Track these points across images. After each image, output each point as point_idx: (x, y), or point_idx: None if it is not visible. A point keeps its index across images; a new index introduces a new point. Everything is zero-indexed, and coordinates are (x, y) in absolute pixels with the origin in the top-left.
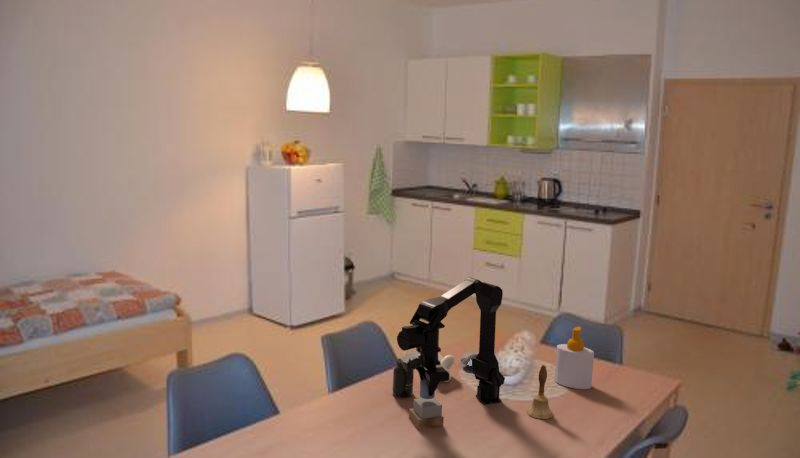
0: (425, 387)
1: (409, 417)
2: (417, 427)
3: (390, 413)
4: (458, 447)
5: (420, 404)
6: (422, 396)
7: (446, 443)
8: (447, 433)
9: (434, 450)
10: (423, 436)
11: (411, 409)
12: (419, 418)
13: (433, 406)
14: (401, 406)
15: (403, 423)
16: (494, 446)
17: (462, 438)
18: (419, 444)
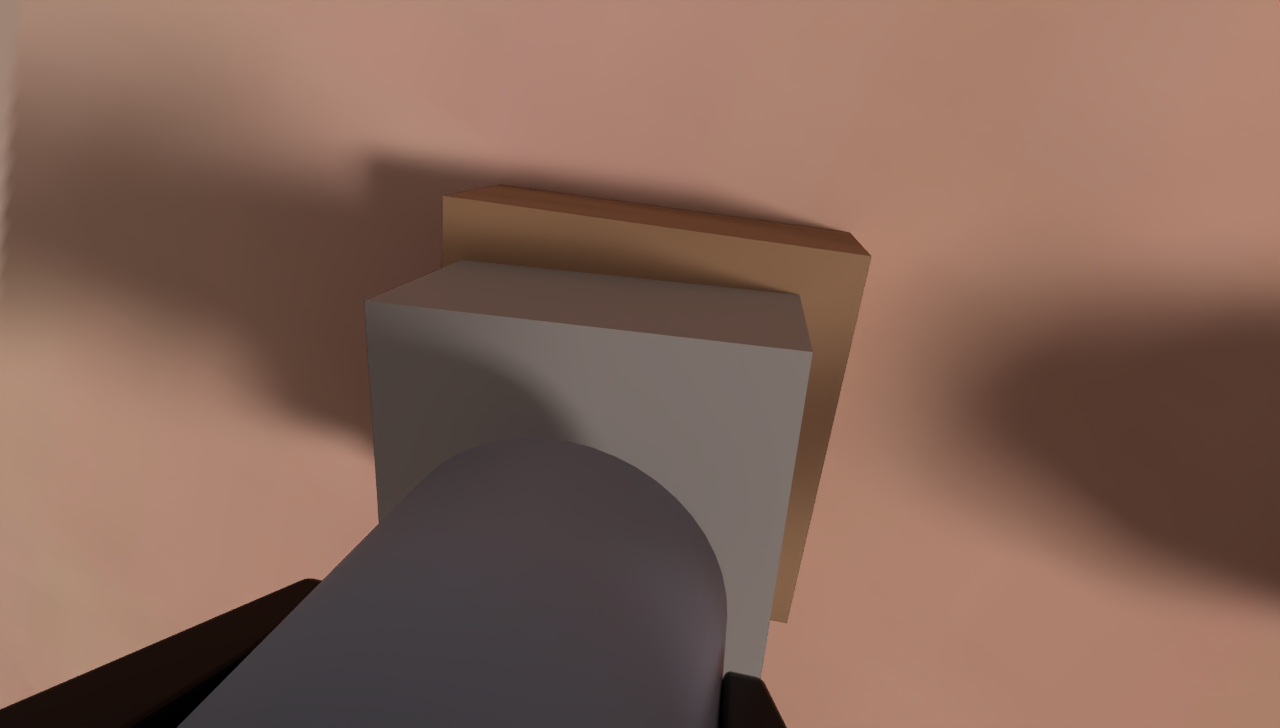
0: (212, 696)
1: (834, 232)
2: (533, 191)
3: (1152, 31)
4: (61, 374)
5: (523, 349)
6: (459, 462)
7: (146, 313)
8: (331, 437)
9: (30, 113)
10: (336, 158)
11: (826, 274)
12: (495, 235)
13: (379, 513)
14: (1254, 316)
15: (743, 77)
16: (45, 636)
17: (209, 502)
18: (172, 9)
